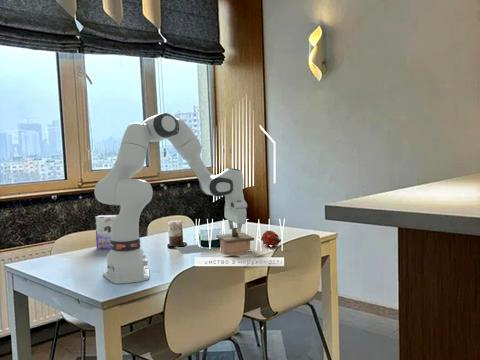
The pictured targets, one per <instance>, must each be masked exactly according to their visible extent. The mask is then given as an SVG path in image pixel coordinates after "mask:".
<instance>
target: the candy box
mask: <svg viewBox="0 0 480 360" xmlns="http://www.w3.org/2000/svg"><path fill="white" fill-rule="evenodd" d="M117 215H118V214H106V215H105V214H104V215H103V214H100V215H99V214H98V215H97V216H94V222H95V238H96V242H95V243H96V250H100V249H101V250H107V249H108V250H111V248H110V240H111V221H112V219H113V218H114V217H115V216H117Z"/></svg>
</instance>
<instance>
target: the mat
mask: <svg viewBox="0 0 480 360" xmlns="http://www.w3.org/2000/svg"><path fill="white" fill-rule="evenodd" d="M184 246H185V247H178V246H174V248H175V249H176V250H177V251H178V252H180V253H181V254H182V255H187V254H195V253H206V252H215V249H213V248H212V249H207V248H201V247H199V246H198V244H191V245H190V244H189V245H184Z"/></svg>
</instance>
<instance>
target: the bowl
mask: <svg viewBox="0 0 480 360" xmlns="http://www.w3.org/2000/svg"><path fill="white" fill-rule="evenodd" d="M219 245H220V247H219V249H220V252H221V253H222V254H227V255H228V254H229V255H241V253H242V254H246V253H245V252H247V251H249V250H250V251H251V241H244V242H235V243H225V242H223V241H222V240H220V239H219ZM247 253H248V252H247Z"/></svg>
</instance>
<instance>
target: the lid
mask: <svg viewBox="0 0 480 360" xmlns="http://www.w3.org/2000/svg"><path fill="white" fill-rule="evenodd" d="M236 229H237V227H234V228H232V229H231V233H224V234H216V239H218V240H219V241H220V240H222V241H223V242H225V243H235V242H244V241H250V242H252V241H255V237H253V236H252V235H249V234H247V233H245V232H240V233H238V232H236Z"/></svg>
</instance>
